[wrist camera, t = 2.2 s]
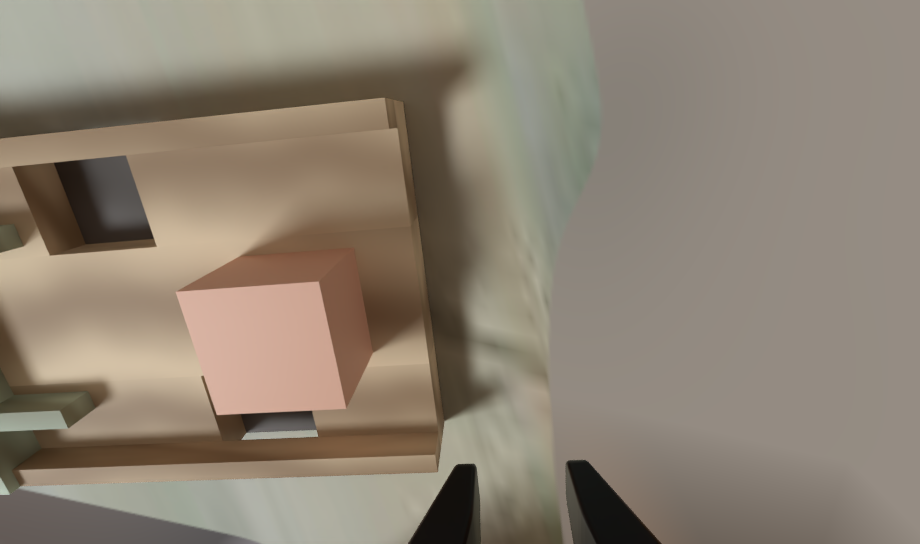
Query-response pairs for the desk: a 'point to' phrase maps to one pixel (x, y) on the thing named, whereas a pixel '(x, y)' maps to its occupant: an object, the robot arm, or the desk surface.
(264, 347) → the block
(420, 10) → the desk surface
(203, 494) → the desk surface
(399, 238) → the board
